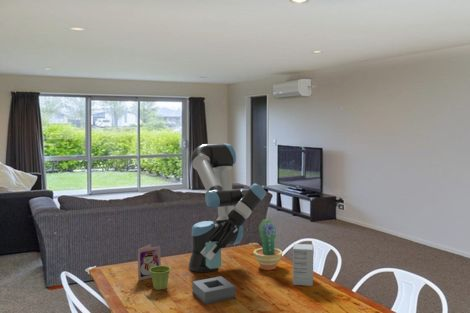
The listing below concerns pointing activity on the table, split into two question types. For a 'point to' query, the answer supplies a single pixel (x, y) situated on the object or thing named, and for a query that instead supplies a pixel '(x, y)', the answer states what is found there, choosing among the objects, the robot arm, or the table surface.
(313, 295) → the table surface
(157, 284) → the plant pot
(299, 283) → the supplement box
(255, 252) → the potted cactus
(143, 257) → the greeting card
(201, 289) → the socket
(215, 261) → the peg
